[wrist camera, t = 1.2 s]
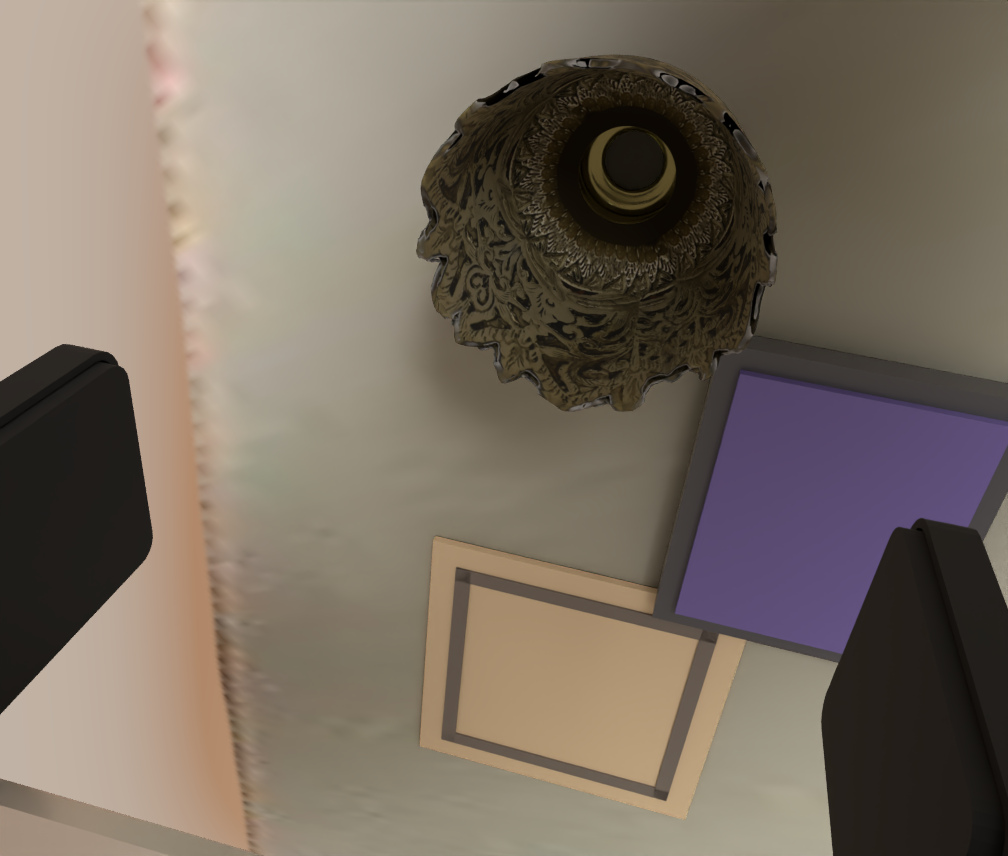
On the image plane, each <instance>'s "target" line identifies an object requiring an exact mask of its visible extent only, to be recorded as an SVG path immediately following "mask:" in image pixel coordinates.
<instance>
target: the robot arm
mask: <svg viewBox="0 0 1008 856" xmlns="http://www.w3.org/2000/svg"><path fill="white" fill-rule="evenodd" d="M152 539H153V535H152V526H151V520H150V513H149V507H148V501H147V494H146V487H145V481H144V475H143V468H142V461H141V455H140V449H139V442H138V436H137V429H136V423H135V417H134V410H133V404H132V398H131V391H130V384H129V379H128V375H127V373H126V371H125V370H124V368H122V367H120V366H119V365H118V362H117V361H116V359H115V358H114V356H113V355H111V354H110V353H108V352H104V351H99V350H94V349H90V348H84V347H80V346H75V345H68V344H62V345H60V346H57V347H55V348H54V349H52V350H51V351H49V352H47V353H46V354H44V355H42V356H41V357H39V358H38V359H36V360H34V361H33V362H31V363H29V364H28V365H26V366H25V367H23V368H21V369H20V370H18V371H17V372H15V373H13V374H12V375H10V376H9V377H7V378H5V379H4V380H2V381H0V714H1V713H2V712H3V711H4V710H5V709H6V708H7V706H8V705H10V703H11V702H12V701H13V700H14V699H15V698H16V697H17V696H18V695H19V694H20V693H21V692H22V691H23V690H24V689H25V687H26V686H27V685H28V684H29V683H30V682H31V681H32V680H33V679H34V678H35V677H36V676H37V675H38V674H39V673H40V671H41V670H42V669H43V668H44V667H45V666H46V665H47V664H48V663H49V662H50V661H51V660H52V659H53V658H54V656H55V655H56V654H57V653H58V652H59V651H60V650H61V649H62V648H63V647H64V646H65V645H66V644H67V643H68V642H69V640H70V639H71V638H72V637H73V636H74V635H75V634H76V633H77V632H78V631H79V630H80V629H81V628H82V627H83V626H84V625H85V623H86V622H87V621H88V620H89V619H90V618H91V617H92V616H93V615H94V614H95V613H96V612H97V610H99V609H100V607H101V606H102V605H103V604H104V603H105V602H106V601H107V600H108V599H109V598H110V597H111V596H112V595H113V594H114V593H115V592H116V590H117V589H118V588H119V587H120V586H121V585H122V584H123V583H124V582H125V581H126V580H127V579H128V578H129V577H130V575H131V574H132V573H133V572H134V571H135V570H136V569H137V568H138V567H139V566H140V565H141V564H142V563H143V561H144V560H145V559H146V557H147V555H148V553H149V551H150V548H151V545H152ZM821 723H822V738H823V749H824V760H825V771H826V782H827V793H828V804H829V815H830V826H831V837H832V848H833V856H1008V608H1007V605H1006V603H1005V600H1004V597H1003V595H1002V592H1001V589H1000V587H999V584H998V581H997V579H996V576H995V573H994V571H993V568H992V565H991V563H990V560H989V557H988V555H987V552H986V549H985V547H984V544H983V541H982V539H981V536H980V534H979V533H978V531H977V530H975V529H973V528H969V527H964V526H959V525H954V524H949V523H944V522H939V521H934V520H930V519H925V518H920V519H917V520H916V521H915V523H914V524H913V525H912V527H911V529H908V528H903V527H897V528H895V529H894V531H893V532H892V534H891V536H890V538H889V541H888V543H887V545H886V548H885V550H884V553H883V555H882V558H881V560H880V563H879V565H878V568H877V570H876V573H875V575H874V577H873V580H872V582H871V585H870V587H869V590H868V592H867V595H866V597H865V600H864V602H863V604H862V607H861V609H860V612H859V614H858V617H857V619H856V622H855V624H854V627H853V629H852V631H851V634H850V636H849V639H848V641H847V644H846V646H845V649H844V651H843V654H842V656H841V659H840V661H839V663H838V666H837V668H836V671H835V673H834V676H833V678H832V681H831V683H830V686H829V688H828V690H827V693H826V696H825V700H824V704H823V710H822V721H821ZM0 856H263V855H260V854H256V853H253V852H249V851H246V850H242V849H239V848H236V847H233V846H229V845H226V844H222V843H219V842H216V841H212V840H209V839H205V838H202V837H199V836H195V835H192V834H188V833H185V832H182V831H178V830H175V829H171V828H168V827H164V826H161V825H158V824H154V823H151V822H148V821H144V820H141V819H137V818H134V817H130V816H127V815H124V814H120V813H116V812H114V811H110V810H106V809H103V808H100V807H96V806H93V805H89V804H86V803H83V802H79V801H76V800H73V799H69V798H66V797H62V796H58V795H55V794H52V793H48V792H45V791H42V790H38V789H34V788H31V787H28V786H24V785H21V784H17V783H14V782H10V781H7V780H3V779H0Z"/></svg>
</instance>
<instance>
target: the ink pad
mask: <svg viewBox="0 0 1008 856" xmlns="http://www.w3.org/2000/svg"><path fill="white" fill-rule="evenodd" d="M1007 492H1008V383H1002V382H997V381H992V380H987V379H981V378H976V377H971V376H965V375H960V374H955V373H950V372H944V371H939V370H934V369H928V368H923V367H918V366H913V365H907V364H902V363H897V362H891V361H886V360H881V359H875V358H870V357H865V356H860V355H854V354H849V353H844V352H838V351H833V350H828V349H823V348H817V347H812V346H807V345H801V344H796V343H791V342H785V341H780V340H775V339H770V338H764V337H759V336H754V335H753V337H752V339H751V340H750V342H749V344H748V345H747V346H746V348H745V349H744V350H743V351H742V352H740V353H739V354H736V353H735V354H731V355H724V356H721V358H720V362H719V365H718V367H717V369H716V371H715V372H714V373H713V374H712V375H711V379H710V383H709V387H708V391H707V395H706V399H705V403H704V407H703V411H702V415H701V419H700V423H699V427H698V431H697V435H696V438H695V442H694V446H693V450H692V454H691V458H690V462H689V466H688V470H687V474H686V478H685V482H684V486H683V490H682V494H681V498H680V502H679V506H678V510H677V513H676V517H675V521H674V525H673V529H672V533H671V537H670V541H669V545H668V549H667V553H666V557H665V561H664V565H663V569H662V573H661V577H660V581H659V584H658V588H657V595H656V599H655V603H654V608H653V615H652V617H653V618H657V619H661V620H665V621H669V622H673V623H678V624H682V625H686V626H690V627H694V628H698V629H702V630H706V631H710V632H715V633H719V634H723V635H727V636H731V637H735V638H739V639H743V640H747V641H752V642H756V643H760V644H764V645H768V646H772V647H776V648H780V649H784V650H789V651H793V652H797V653H801V654H805V655H809V656H813V657H817V658H821V659H826V660H830V661H834V662H838V663H839V661H840V659H841V656H842V654H843V651H844V649H845V646H846V644H847V641H848V639H849V636H850V634H851V631H852V629H853V627H854V624H855V622H856V619H857V617H858V614H859V612H860V609H861V607H862V604H863V602H864V600H865V597H866V595H867V592H868V590H869V587H870V585H871V582H872V580H873V577H874V575H875V573H876V570H877V568H878V565H879V563H880V560H881V558H882V555H883V553H884V550H885V548H886V545H887V543H888V541H889V538H890V536H891V534H892V532H893V531H894V529H895V528H897V527H903V528H908V529H911V527H912V525H913V524H914V523H915V521H916V520H917V519H920V518H925V519H930V520H934V521H939V522H944V523H949V524H954V525H959V526H964V527H969V528H973V529H975V530H977V531H978V533H979V534H980V536H981V539H982V541H983V540H984V538H985V536H986V534H987V532H988V530H989V528H990V526H991V524H992V522H993V520H994V518H995V516H996V514H997V512H998V510H999V508H1000V506H1001V504H1002V502H1003V500H1004V498H1005V496H1006V494H1007Z"/></svg>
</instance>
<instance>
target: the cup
mask: <svg viewBox="0 0 1008 856" xmlns="http://www.w3.org/2000/svg"><path fill="white" fill-rule="evenodd" d="M630 131H639V132H644V133H646V134H648V135H650V136H651V137H653V138H654V139H655V140H656V141H657V142H658V144H659V145H660V147H661V149H662V152H663V158H664V162H663V168H662V171H661V174H660V176H659V177H658V179H657V180H656V181H655V182H654V183H653V184H652V185H650V186H649V187H647V188H645V189H642V190H636V191H632V190H626V189H623V188H621V187H619V186H617V185H616V184H615V183H614V182H613V181H612V180H611V179H610V177H609V176H608V174H607V171H606V168H605V155H606V151H607V149H608V147H609V145H610V144H611V142H612V141H613V140H614V139H615V138H616V137H618V136H619V135H621V134H623V133H626V132H630ZM768 179H769V177H768V174H767V172H766V170H765V168H764V166H763V164H762V162H761V160H760V159H759V157H758V155H757V153H756V152H755V150H754V148H753V147H752V145H751V144H750V142H749V140H748V138H747V137H746V135H745V133H744V132H743V130H742V128H741V127H740V125H739V123H738V122H737V120H736V118H735V117H734V116H733V114H732V113H731V112H730V111H729V109H728V108H727V107H726V105H725V104H724V103H723V102H722V101H721V100H720V99H719V98H718V97H717V96H716V95H715V94H714V93H713V92H712V91H711V90H710V89H709V88H707V87H706V86H705V85H704V84H702V83H701V82H700V81H699V80H697V79H696V78H694V77H692V76H691V75H689V74H687V73H686V72H684V71H682V70H680V69H678V68H676V67H673V66H671V65H669V64H666V63H663V62H660V61H657V60H653V59H649V58H644V57H638V56H629V55H602V56H591V57H585V58H577V59H564V60H555V61H550V62H546V63H544V64H542V66H541V68H539V69H536V70H534V71H532V72H530V73H528V74H525V75H523V76H520V77H517V78H515V79H514V80H512V81H511V82H510V83H509V84H507V85H506V86H504V87H502V88H501V89H500V90H498V91H497V92H496V93H494V94H492V95H490V96H488V97H486V98H482V99H478V100H476V101H475V102H474V103H473V104H472V105H471V106H470V107H468V108H467V109H466V110H465V111H464V112H463V113H462V114H461V116H460V117H459V118H458V119H457V121H456V123H455V131H454V132H453V134H452V135H451V136H450V137H449V138H448V139H447V141H446V142H445V143H444V144H443V145H442V146H441V147H440V148H439V150H438V151H437V152H436V154H435V155H434V157H433V159H432V160H431V162H430V164H429V166H428V167H427V169H426V172H425V174H424V177H423V179H422V183H421V196H422V200H423V204H424V206H425V207H426V210H427V214H428V218H429V223H428V225H427V227H426V228H425V229H424V230H423V231H422V232H421V235H420V237H419V239H418V244H417V250H416V252H417V255H418V257H419V258H423V259H425V260H426V261H431V262H434V261H436V262H440V263H439V265H438V268H437V270H436V272H435V275H434V279H433V283H432V286H431V293H432V301H433V304H434V307H435V309H436V311H437V312H438V313H440V314H441V315H442V316H443V317H444V318H445V319H447V318H451V319H452V322H451V324H452V325H453V326H454V337H455V341H456V343H458V344H461V345H465V346H472V347H478V348H479V349H480V350H486V349H490V348H493V349H494V363H493V364H494V366H495V368H496V370H497V374H498V377H499V379H500V381H501V383H508V382H512V381H514V380H517V379H518V378H520V377H525V378H526V379H527V380H529V381H530V382H532V383H533V384H534V385H535V386H536V388H537V392H538V394H539V395H540V396H542V397H543V398H545V399H546V400H548V401H549V402H551V403H552V404H554V405H555V406H557V407H558V408H559V409H560V410H563V411H578V410H582V409H585V408H589V407H592V406H594V407H598V406H601V405H605V404H610V405H611V407H612V408H613V409H614V410H615V411H633V410H635V409H636V408H638V407H639V406H641V405H642V404H643V403H644V401H645V400H644V397H645V395H646V393H647V392H648V390H649V389H650V387H651V386H652V385H654V384H657V383H660V382H663V381H666V382H671V383H672V382H674V381H676V380H677V379H679V378H680V377H681V376H682V375H683V374H685V373H687V372H688V371H692V372H693V373H698V374H699V379H700V380H702V381H703V380H705V379H707V378H709V377H710V376H711V375H712V374H713V373H714V372H715V371H716V369H717V367H718V365H719V362H720V358H721V356H724V355H731V354H735V353H736V354H739V353H740V352H742V351H743V350H744V349H745V348H746V346H747V345H748V344H749V342H750V340H751V339H752V337H753V335H754V332H755V330H756V326H757V322H758V317H759V311H760V304H761V300H762V296H763V293H764V290H765V286H766V285H767V286H769V287H771V286H772V284H775V280H776V273H777V259H778V256H777V254H776V251H775V248H774V242H773V234H775V233H776V232H777V228H776V208H775V203H774V200H773V196H772V190H771V185H770V184H769V183H768V182H767V181H768ZM437 257H438V258H440V260H439V259H434V258H437Z"/></svg>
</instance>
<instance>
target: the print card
mask: <svg viewBox="0 0 1008 856" xmlns="http://www.w3.org/2000/svg"><path fill="white" fill-rule="evenodd" d="M656 595H657V589H656V588H652V587H648V586H644V585H640V584H635V583H631V582H627V581H623V580H619V579H614V578H610V577H606V576H602V575H598V574H593V573H589V572H585V571H581V570H577V569H572V568H568V567H564V566H560V565H556V564H551V563H547V562H543V561H539V560H535V559H530V558H526V557H522V556H518V555H513V554H509V553H505V552H501V551H497V550H492V549H488V548H484V547H480V546H476V545H471V544H467V543H463V542H459V541H455V540H450V539H446V538H442V537H438V536H435V538H434V540H433V549H432V564H431V579H430V594H429V609H428V624H427V640H426V655H425V670H424V685H423V700H422V715H421V731H420V746H421V747H424V748H428V749H432V750H435V751H439V752H442V753H446V754H450V755H453V756H457V757H460V758H464V759H468V760H471V761H475V762H478V763H482V764H486V765H489V766H493V767H496V768H500V769H504V770H507V771H511V772H514V773H518V774H521V775H525V776H529V777H532V778H536V779H539V780H543V781H547V782H550V783H554V784H557V785H561V786H565V787H568V788H572V789H575V790H579V791H583V792H586V793H590V794H593V795H597V796H601V797H604V798H608V799H611V800H615V801H619V802H622V803H626V804H629V805H633V806H637V807H640V808H644V809H647V810H651V811H655V812H658V813H662V814H665V815H669V816H672V817H676V818H680V819H683V820H685V819H686V816H687V813H688V810H689V807H690V804H691V801H692V798H693V796H694V793H695V790H696V787H697V784H698V781H699V778H700V775H701V772H702V769H703V766H704V763H705V760H706V757H707V754H708V752H709V749H710V746H711V743H712V740H713V737H714V734H715V731H716V728H717V725H718V722H719V719H720V716H721V713H722V711H723V708H724V705H725V702H726V699H727V696H728V693H729V690H730V687H731V684H732V681H733V678H734V675H735V672H736V670H737V667H738V664H739V661H740V658H741V655H742V652H743V649H744V646H745V643H746V640H743V639H739V638H735V637H731V636H727V635H723V634H719V633H715V632H710V631H706V630H702V629H698V628H694V627H690V626H686V625H682V624H678V623H673V622H669V621H665V620H661V619H657V618H653V617H652V615H653V608H654V603H655V599H656Z"/></svg>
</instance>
